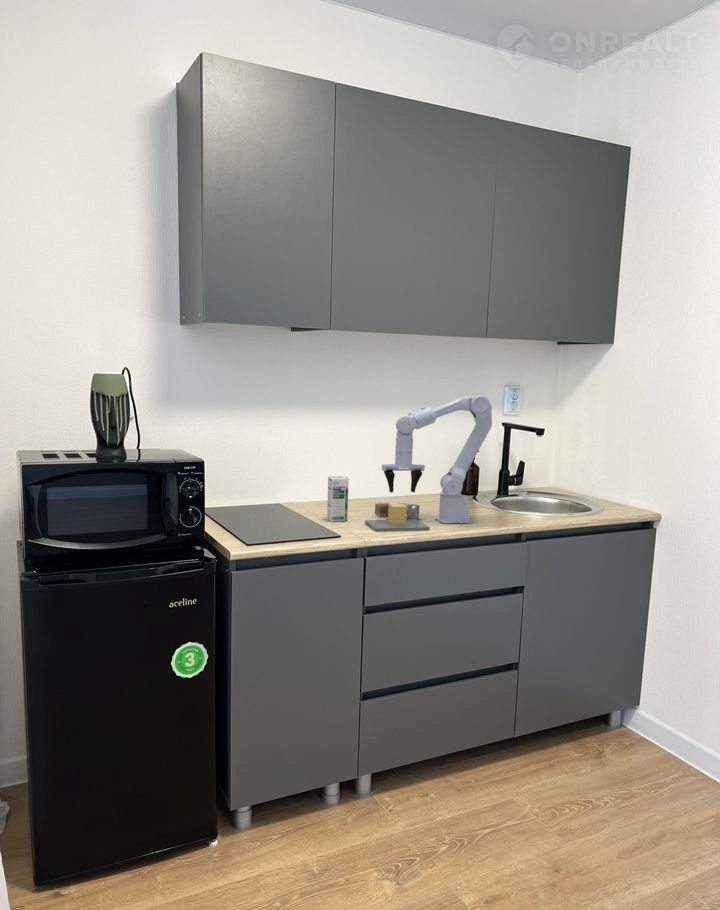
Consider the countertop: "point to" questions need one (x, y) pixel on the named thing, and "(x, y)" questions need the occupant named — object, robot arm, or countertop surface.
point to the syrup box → (337, 498)
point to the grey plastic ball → (406, 506)
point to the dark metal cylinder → (413, 512)
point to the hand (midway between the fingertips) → (402, 492)
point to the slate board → (385, 526)
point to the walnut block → (381, 509)
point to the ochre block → (397, 514)
